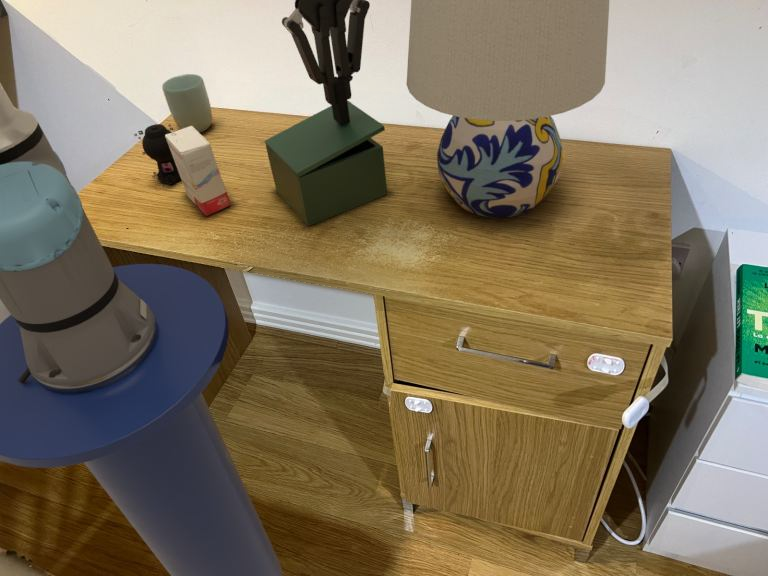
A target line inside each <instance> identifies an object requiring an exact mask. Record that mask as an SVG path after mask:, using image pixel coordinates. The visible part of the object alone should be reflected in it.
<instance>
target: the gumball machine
mask: <svg viewBox="0 0 768 576" xmlns="http://www.w3.org/2000/svg"><path fill="white" fill-rule="evenodd" d="M167 126H168V127H169V129H168V128H167V127H166V126H165V125H164V124H161V123H157V124H156V123H155V124H152V125H149V126H147V127H146V128H145V129H144V131H143V130H138V131H137V132H138V134H139V135H140V136H138V134H137V133H134V135H133V136H134V137H138V140H141V139H142V140H141V141H142V142H141V144H142V149H143V151H142V152H141V153H142V155H143V156H144V155H147V156H148V157H149V158H150V159H151V160H153V161H155V162H156V164H157V170H158V171H157V172H156V171H154V172H153V175H152V176H151V177H152V178H153V179H155V178H156V177H157V180H158V181H159V182H161V184H160V187H164V184H168V185H172V184H174V183H176V182H177V181H180V180H181V177H180V175H179V172H178V169H177V166H176V164H175V161H174V158H173V156H172V153H171V150H170V148H169V145H168V142H167V140H166V137H165V135H166V134H169V133H172V131H173V130H174V128H173V127H172V125H171V124H168V125H167ZM141 135H142V136H143V135H144V136H143V138H141Z"/></svg>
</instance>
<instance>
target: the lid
mask: <svg viewBox="0 0 768 576" xmlns="http://www.w3.org/2000/svg"><path fill="white" fill-rule="evenodd" d="M347 102H348V110H349V117H350V123H347V124H344V125H341V124H339V123H338V122H337V121H335V120H334V118H333V111H332V105H330V106H327V107H326V108H324V109H322V110H320V111H318V112H317V113H314V114H313V115H311V116H309V117H307V118H305V119H303V120H301V121H299V122H298V123H296V124H294V125H292V126H289V127H288V128H286V129H284V130H282V131H280V132H278V133H277V134H274V135H273V136H271V137H269V138H267V139H265V140H264V144H265V147H266V146H268V147H269V148H270V149H271V150H272V151H273V152H274V153H275V154H276V155H277V156H278V157H279V158H280V159H281V160H282V161H283V162H284V163H285V164H286V165H287V166H288V167H289V168H290V169H291V170H292V171H293V172H294V173H295V174H296V175H297V176H298V177H300V176H302V175H304V174H306V173H308V172H309V171H311V170H313V169H315V168H317V167H319V166H320V165H322V164H324V163H326V162H328V161H329V160H331V159H333V158H335V157H337V156H339V155H340V154H342V153H344V152H346V151H348V150H349V149H351V148H353V147H355V146H357V145H359V144H360V143H362V142H364V141H366V140H368V139H370V138H373V137H375V136H377V135H379V134H381V133H383V132H384V131H386V130H385V129H386V128H385V125H384V124H382V123H381V122H379V121H378V120H376V119H375V118H374V117H372V116H371V115H369V114H368V113H367V112H365V111H364V110H362V109H360V108H359V107H358V106H356V105H355V104H354V103H352V102H351V101H350V100H349V99H348V100H347Z"/></svg>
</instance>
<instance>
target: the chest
mask: <svg viewBox="0 0 768 576" xmlns="http://www.w3.org/2000/svg"><path fill="white" fill-rule="evenodd" d="M265 149H266V153H267V157H268V162H269V165H270V169H271V174H272V179H273V182H274V187H275V191H276V194H278V195H279V196H280V198H282V199H283V201H284V202H285V203H286V204H287V205H288V206H289V207H290V208H291V210H292V211H294V213H295V214H296V215H297V216H298V217H299V218H300V219H301V220H302V221H303V222H304V223H305V225H306V226H307V227H310V226H312V225H315V224H318V223H321V222H322V221H325V220H327V219H330V218H333V217H335V216H337V215H340V214H342V213H345V212H348V211H349V210H352V209H355V208H357V207H360V206H362V205H365V204H367V203H370V202H372V201H374V200H378V199H380V198H382V197H385V196H387V195H388V188H387V179H386V167H385V156H384V147H383V145H382V144H380V143H378V142H377V140H374V139H373V137H371V138H370V139H368V140H366V141H364V142H362V143H360V144H359V145H357V146H355V147H353V148H351V149H349V150H348V151H346V152H344V153H342V154H340V155H339V156H337V157H335V158H333V159H331V160H329V161H328V162H326V163H324V164H322V165H320V166H319V167H317V168H315V169H313V170H311V171H309V172H308V173H306V174H304V175H302V176H300V177H298V176H297V175H296V174H295V173H294V172H293V171H292V170H291V169H290V168H289V167H288V166H287V165H286V164H285V163H284V162H283V161H282V160H281V159H280V158H279V157H278V156H277V155H276V154H275V153H274V152H273V151H272V150H271V149H270V148H269V147H268V146H266V145H265Z"/></svg>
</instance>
